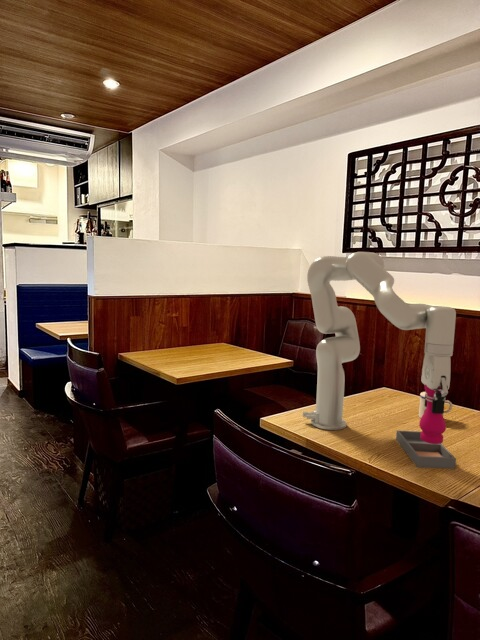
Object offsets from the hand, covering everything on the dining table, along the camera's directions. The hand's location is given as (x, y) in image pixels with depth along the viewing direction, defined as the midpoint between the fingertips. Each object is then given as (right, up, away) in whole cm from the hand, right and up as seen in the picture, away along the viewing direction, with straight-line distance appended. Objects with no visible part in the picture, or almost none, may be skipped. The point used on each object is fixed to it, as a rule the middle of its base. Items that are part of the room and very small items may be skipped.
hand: (433, 409), depth 134 cm
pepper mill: (0, -10, +1) cm, 10 cm away
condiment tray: (0, -15, +7) cm, 16 cm away
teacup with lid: (+17, -12, +40) cm, 45 cm away
